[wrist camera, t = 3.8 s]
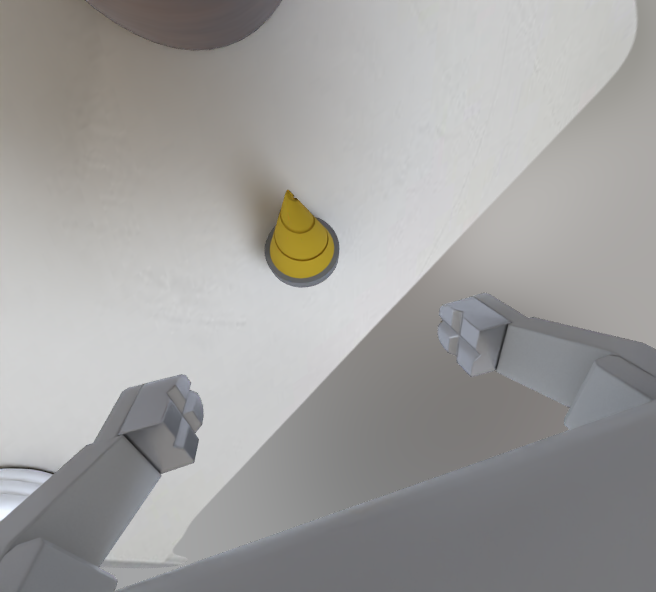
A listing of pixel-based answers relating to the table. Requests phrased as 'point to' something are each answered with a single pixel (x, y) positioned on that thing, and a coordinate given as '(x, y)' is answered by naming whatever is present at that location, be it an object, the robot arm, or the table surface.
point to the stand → (189, 20)
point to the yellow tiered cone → (301, 246)
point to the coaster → (18, 487)
